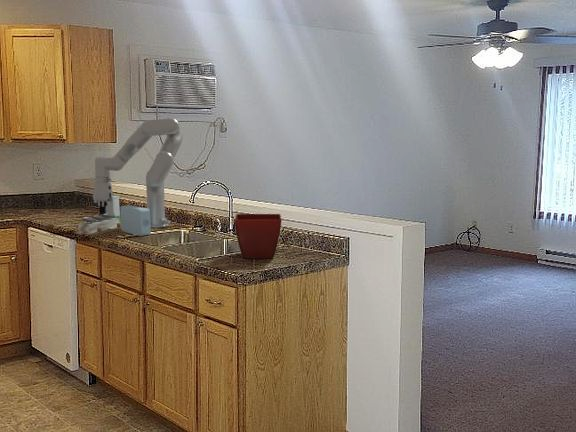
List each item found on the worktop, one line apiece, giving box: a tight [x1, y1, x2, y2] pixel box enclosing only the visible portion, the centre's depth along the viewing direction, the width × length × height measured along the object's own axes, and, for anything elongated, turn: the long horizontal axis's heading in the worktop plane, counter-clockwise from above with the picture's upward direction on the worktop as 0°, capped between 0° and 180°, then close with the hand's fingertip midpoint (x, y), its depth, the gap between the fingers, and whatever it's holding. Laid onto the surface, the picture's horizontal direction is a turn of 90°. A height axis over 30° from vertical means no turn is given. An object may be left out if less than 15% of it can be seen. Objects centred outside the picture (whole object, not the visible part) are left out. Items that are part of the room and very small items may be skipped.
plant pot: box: [234, 213, 282, 259], centre depth 291 cm, size 19×19×17 cm
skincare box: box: [105, 195, 121, 223], centre depth 390 cm, size 8×7×16 cm
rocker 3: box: [101, 214, 115, 219], centre depth 371 cm, size 6×4×2 cm, turn 66°
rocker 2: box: [91, 214, 106, 221], centre depth 364 cm, size 6×4×2 cm, turn 66°
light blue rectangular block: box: [119, 204, 152, 237], centre depth 355 cm, size 23×6×13 cm, turn 39°
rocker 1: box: [81, 216, 96, 223], centre depth 357 cm, size 6×4×2 cm, turn 66°
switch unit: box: [74, 218, 122, 236], centre depth 364 cm, size 14×26×5 cm, turn 156°
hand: (102, 213), depth 372 cm, fingers closed
